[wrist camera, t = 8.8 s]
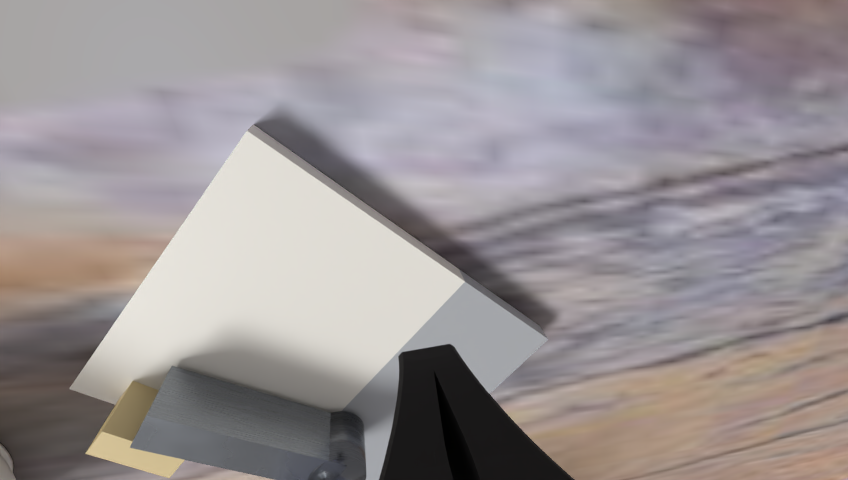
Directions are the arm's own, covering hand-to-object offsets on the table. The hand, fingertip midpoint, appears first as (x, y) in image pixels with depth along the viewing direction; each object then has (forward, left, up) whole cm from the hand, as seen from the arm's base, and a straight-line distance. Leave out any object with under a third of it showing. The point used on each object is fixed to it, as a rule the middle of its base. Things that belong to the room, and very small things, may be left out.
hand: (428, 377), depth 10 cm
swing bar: (-1, +12, -8) cm, 14 cm away
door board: (-2, +8, -10) cm, 13 cm away
